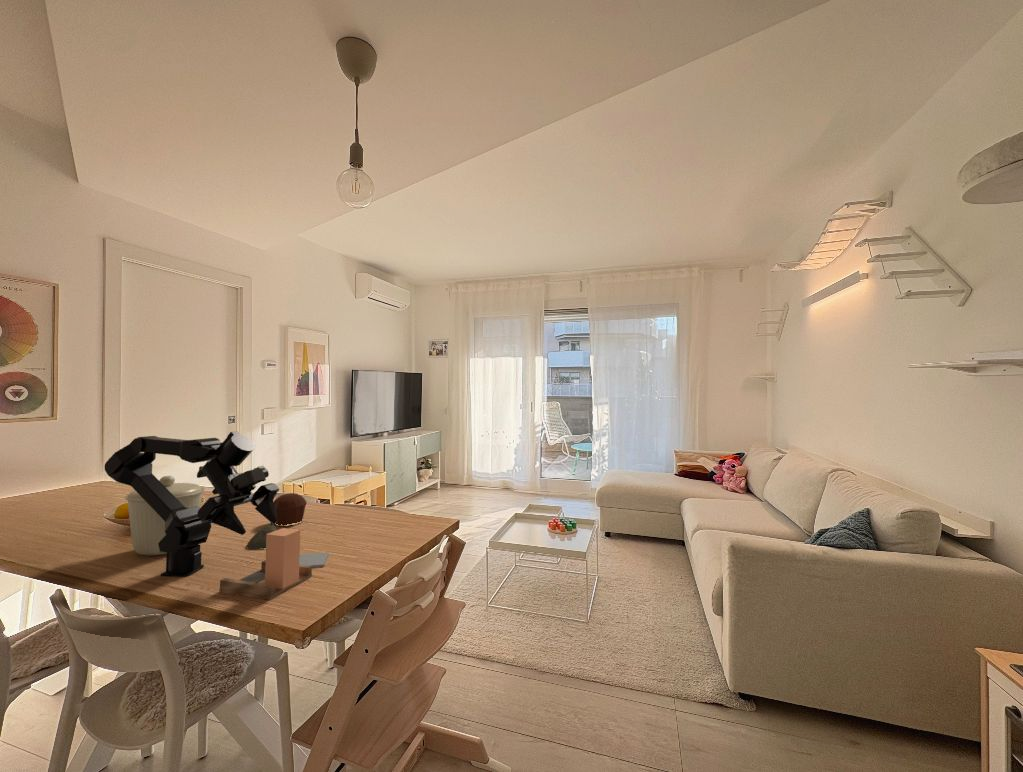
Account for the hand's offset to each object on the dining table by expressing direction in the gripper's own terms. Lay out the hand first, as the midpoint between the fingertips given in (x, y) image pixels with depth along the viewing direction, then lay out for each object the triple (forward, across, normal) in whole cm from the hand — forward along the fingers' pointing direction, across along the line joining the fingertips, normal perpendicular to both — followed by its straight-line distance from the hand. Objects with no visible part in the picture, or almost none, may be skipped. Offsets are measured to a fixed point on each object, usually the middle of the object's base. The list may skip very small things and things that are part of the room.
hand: (260, 527), depth 103 cm
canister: (-21, +10, +40) cm, 46 cm away
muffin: (-12, +42, +30) cm, 53 cm away
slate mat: (+11, +14, +8) cm, 19 cm away
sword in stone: (-4, +22, +23) cm, 33 cm away
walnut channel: (+11, 0, +7) cm, 13 cm away
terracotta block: (+14, 0, +4) cm, 14 cm away
